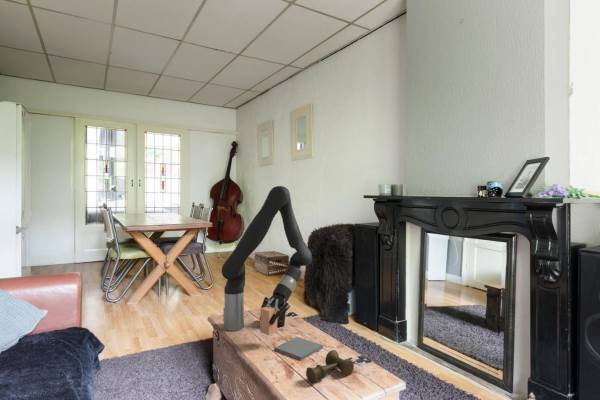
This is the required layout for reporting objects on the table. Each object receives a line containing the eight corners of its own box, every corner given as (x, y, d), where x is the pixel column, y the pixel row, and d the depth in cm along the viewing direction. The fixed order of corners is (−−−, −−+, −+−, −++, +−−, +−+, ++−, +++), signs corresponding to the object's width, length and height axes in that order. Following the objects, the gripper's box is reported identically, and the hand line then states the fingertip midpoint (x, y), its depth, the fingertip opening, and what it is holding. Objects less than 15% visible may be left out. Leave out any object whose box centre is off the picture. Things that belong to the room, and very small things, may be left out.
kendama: (301, 378, 117) (343, 360, 128) (318, 391, 109) (362, 371, 120) (300, 361, 116) (343, 344, 128) (318, 373, 109) (361, 354, 120)
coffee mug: (290, 324, 167) (289, 304, 167) (279, 329, 160) (279, 308, 160) (271, 320, 173) (271, 300, 173) (260, 325, 166) (260, 305, 166)
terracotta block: (260, 332, 142) (260, 308, 142) (268, 328, 146) (268, 305, 146) (268, 335, 139) (268, 311, 139) (277, 331, 143) (277, 308, 143)
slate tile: (274, 350, 138) (274, 347, 138) (297, 339, 148) (297, 336, 148) (301, 360, 129) (301, 357, 129) (322, 347, 139) (322, 345, 139)
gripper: (269, 280, 153) (249, 313, 144) (293, 285, 144) (273, 321, 135) (277, 289, 157) (258, 322, 148) (301, 295, 148) (282, 331, 139)
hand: (265, 322), depth 141 cm, fingers closed on terracotta block, 5 cm apart
